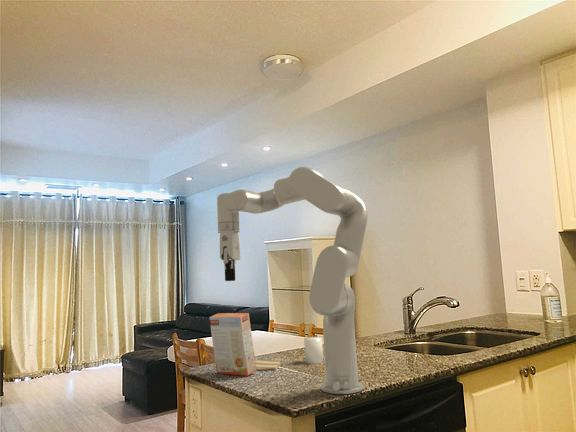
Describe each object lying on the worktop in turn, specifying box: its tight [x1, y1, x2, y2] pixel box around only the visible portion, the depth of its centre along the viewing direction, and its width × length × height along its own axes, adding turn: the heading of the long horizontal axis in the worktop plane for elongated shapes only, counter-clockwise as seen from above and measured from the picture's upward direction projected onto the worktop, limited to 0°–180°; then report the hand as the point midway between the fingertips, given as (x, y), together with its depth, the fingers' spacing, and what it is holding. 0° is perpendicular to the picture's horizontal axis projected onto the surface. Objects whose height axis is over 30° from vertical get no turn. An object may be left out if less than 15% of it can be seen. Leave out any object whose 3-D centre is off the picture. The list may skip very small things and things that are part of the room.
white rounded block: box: [303, 336, 324, 365], centre depth 170 cm, size 7×7×9 cm
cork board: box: [255, 358, 283, 371], centre depth 167 cm, size 16×18×1 cm
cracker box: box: [209, 312, 256, 377], centre depth 156 cm, size 14×6×21 cm, turn 59°
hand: (230, 280), depth 151 cm, fingers closed
